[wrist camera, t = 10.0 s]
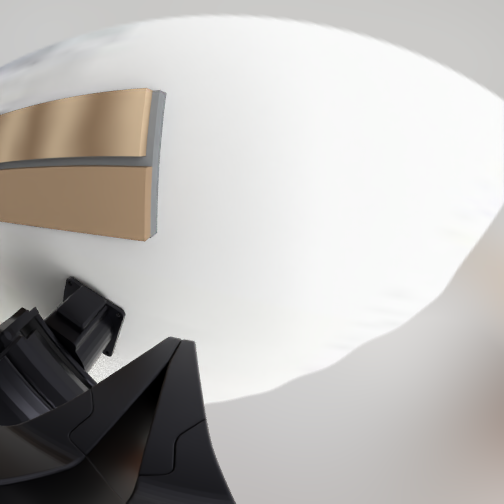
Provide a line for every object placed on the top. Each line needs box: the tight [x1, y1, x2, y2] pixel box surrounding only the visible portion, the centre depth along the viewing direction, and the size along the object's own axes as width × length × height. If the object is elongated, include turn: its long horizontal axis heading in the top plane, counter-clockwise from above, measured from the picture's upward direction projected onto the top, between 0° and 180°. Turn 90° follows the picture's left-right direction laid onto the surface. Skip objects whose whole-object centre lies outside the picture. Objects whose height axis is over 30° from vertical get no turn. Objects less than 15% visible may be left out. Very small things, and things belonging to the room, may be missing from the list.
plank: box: [0, 88, 153, 163], centre depth 16 cm, size 19×4×1 cm, turn 83°
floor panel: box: [0, 90, 166, 241], centre depth 17 cm, size 20×10×2 cm, turn 83°
